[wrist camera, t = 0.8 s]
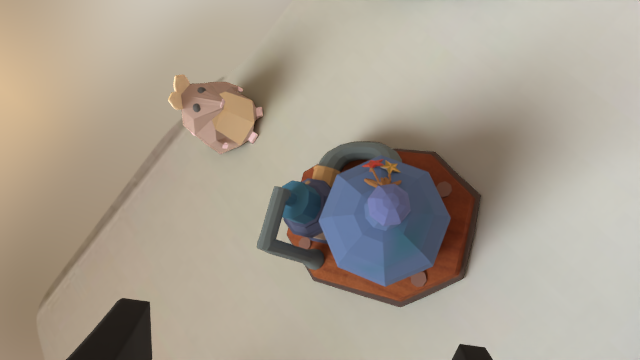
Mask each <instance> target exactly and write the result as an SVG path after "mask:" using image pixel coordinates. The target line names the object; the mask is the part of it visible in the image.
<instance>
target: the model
mask: <svg viewBox="0 0 640 360" xmlns="http://www.w3.org/2000/svg"><path fill="white" fill-rule="evenodd" d="M480 196H481V195H480V194H479V193H478V192H477V191H476V190H474V189H473V188H472V187H471V186H470V185H469V184H468V183H467V182H466V181H465V180H464V179H462V178H461V177H460V176H459V175H458V174H457V173H456V172H455V171H454V170H453V169H452V168H451V167H450V166H449V165H448V164H447V163H446V162H445V161H444V160H443V159H442V158H441V157H440V156H439V155H437V154H436V153H435V152H428V151H416V150H403V149H391V148H390V147H388V146H386V145H384V144H382V143H380V142H370V141H367V142H351V143H347V144H343V145H340V146H338V147H336V148H334V149H332V150H330V151H329V152H327V153H326V154H325V155H324V156H323V158H322V159H321V161H320V162H319V164H318V165H316V166H314V167H312V168H311V169H309V170H307V171H305V172H304V173H303V177H302V181H301V182H298V181H291V182H289V183H287V184H286V185H284V186H282V187H277V186H274V189H273V192H272V196H271V199H270V202H269V206H268V209H267V213H266V216H265V220H264V223H263V227H262V230H261V234H260V237H259V240H258V242H257V248H258V249H260V250H263V251H265V252H267V253H269V254H272V255H276V256H279V257H283V258H287V259H290V260H294V261H297V262H301V263H303V264H304V265H305V267H306V268H307V270H308V272H309V273H310V275H311V277H312V279H313V280H314V281H317V282H320V283H323V284H326V285H330V286H333V287H336V288H339V289H342V290H346V291H349V292H352V293H355V294H358V295H362V296H365V297H368V298H371V299H375V300H378V301H381V302H385V303H388V304H391V305H394V306H398V307H402V306H405V305H407V304H409V303H412V302H414V301H416V300H419V299H421V298H423V297H426V296H428V295H430V294H432V293H434V292H437V291H439V290H441V289H443V288H445V287H447V286H449V285H451V284H453V283H455V282H457V281H459V280H461V279H463V278H464V274H465V270H466V266H467V262H468V258H469V254H470V250H471V246H472V241H473V237H474V232H475V226H476V220H477V214H478V208H479V202H480ZM282 217H283V218H284V221H285V223H286V224H287V226H288V227H289V228H288V231H287V236H288V238H289V240H290V241H291V243H292V245H291V244H288V243H285V242H282V241H279V240H276V237H277V233H278V230H279V226H280V223H281V219H282Z"/></svg>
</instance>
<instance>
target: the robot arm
mask: <svg viewBox="0 0 640 360" xmlns="http://www.w3.org/2000/svg"><path fill="white" fill-rule="evenodd" d="M66 360H152V344H151V321H150V302H147V301H140V300H132V299H125V298H122V299H120V300H118V301H117V302H116V304H115V305H114V306H113V307H112V308H111V310H110V311H109V312H108V313H107V314H106V316H105V317H104V318H103V319H102V320H101V322H100V323H99V324H98V325H97V326H96V327H95V329H94V330H93V331H92V332H91V333H90V334H89V335H88V336H87V338H86V339H85V340H84V341H83V342H82V343H81V344H80V345H79V346H78V348H77V349H76V350H75V351H74V352H73V353H72V354H71V355H70V356H69V357H68V358H67V359H66ZM452 360H493V359H492V358H491V356H490V354H489V353H488V351H487V350H486V348H485V347H478V346H470V345H463V344H460V345H459V347H458V349H457V351H456V353H455V355H454V357H453V359H452Z"/></svg>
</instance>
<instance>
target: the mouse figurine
mask: <svg viewBox="0 0 640 360" xmlns="http://www.w3.org/2000/svg"><path fill="white" fill-rule="evenodd" d="M174 90H175V91H176V92H172V93H171V94H170V96H169V98H168V101H169V102H170V104H171V105H172V107H173V108H175V109H176V110H180V109H182V119H183V125H184V126H185V127H186V128H187V129H189V130H190V132H191V134H193V135H195V136H197V137H198V138H199V139H201V140H202V141H203V142H204V143H205V144H207V145H208V146H209V147H211V148H212V149H214V150H215V151H217V152H218V153H220V154H222V153H224V152H227V151H229V150H231V149H234V148H236V147H239V146H241V145H242V144H244V143H245V142H247V141H250V142H251V143H254V141H255V140H256V138H257V136H258V135H257V134H256V133H254V132H253V128H254V122H255V121H256V120H257V119H258V118H260V117H262V116H263V111H262V107H257V108H256V107H255V105H254V103H253V101H252V100H250V99H249V98H247V97H245V96H243V95H241V94H239V93H238V92H243V89H242V88H240V87H239V86H236V85H233V84H230V83H228V82H209V83H200V84H190V83H189V81H188V79H187V78H186V77H185V75H176V76H175V78H174ZM235 91H238V92H235Z"/></svg>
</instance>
